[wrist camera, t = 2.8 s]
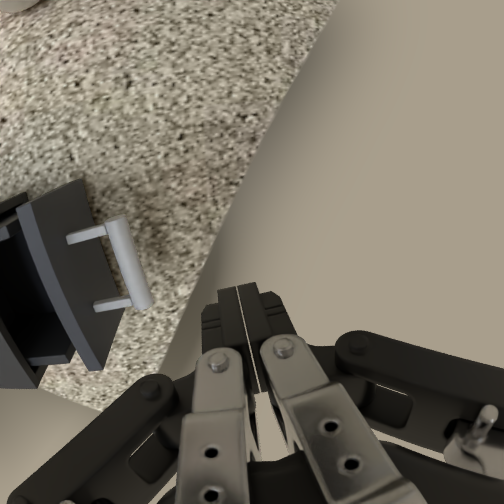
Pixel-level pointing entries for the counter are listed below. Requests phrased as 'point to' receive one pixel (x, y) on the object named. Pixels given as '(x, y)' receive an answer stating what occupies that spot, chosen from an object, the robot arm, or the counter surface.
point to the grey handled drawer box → (3, 346)
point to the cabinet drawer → (65, 279)
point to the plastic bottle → (16, 5)
